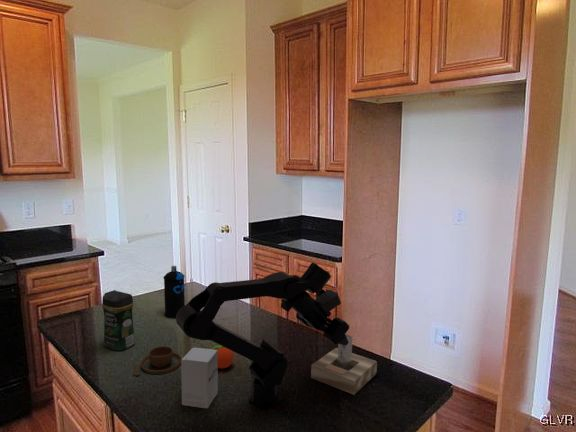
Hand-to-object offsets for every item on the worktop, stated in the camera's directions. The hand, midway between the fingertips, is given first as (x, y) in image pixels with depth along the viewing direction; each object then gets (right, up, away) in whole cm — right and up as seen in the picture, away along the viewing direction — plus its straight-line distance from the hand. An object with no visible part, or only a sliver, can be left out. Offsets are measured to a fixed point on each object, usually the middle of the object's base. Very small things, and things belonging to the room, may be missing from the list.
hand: (337, 337), depth 119 cm
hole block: (+2, -12, +3) cm, 13 cm away
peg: (+2, -12, +3) cm, 13 cm away
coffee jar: (-71, -9, +21) cm, 74 cm away
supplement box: (-37, -14, -9) cm, 41 cm away
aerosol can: (-60, -5, +48) cm, 77 cm away
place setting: (-51, -12, +5) cm, 52 cm away
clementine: (-35, -11, +7) cm, 37 cm away
